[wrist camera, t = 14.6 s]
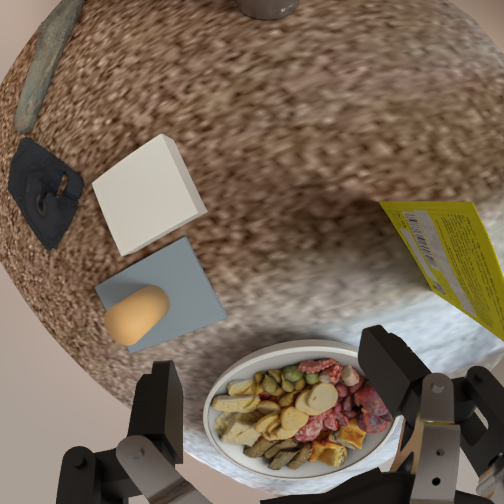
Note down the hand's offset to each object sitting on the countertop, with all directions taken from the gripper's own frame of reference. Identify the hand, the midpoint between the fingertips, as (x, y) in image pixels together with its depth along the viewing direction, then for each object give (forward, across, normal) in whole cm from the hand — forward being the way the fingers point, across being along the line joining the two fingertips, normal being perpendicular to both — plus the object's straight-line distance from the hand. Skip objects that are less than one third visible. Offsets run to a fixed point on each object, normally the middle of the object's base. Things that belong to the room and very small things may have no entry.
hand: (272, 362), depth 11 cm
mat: (+27, +12, +11) cm, 31 cm away
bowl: (+18, -8, +30) cm, 36 cm away
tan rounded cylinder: (+26, +12, +11) cm, 31 cm away
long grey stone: (+44, +33, -36) cm, 66 cm away
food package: (+19, -23, +5) cm, 30 cm away
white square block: (+30, +10, -3) cm, 31 cm away
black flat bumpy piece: (+38, +33, -7) cm, 50 cm away
